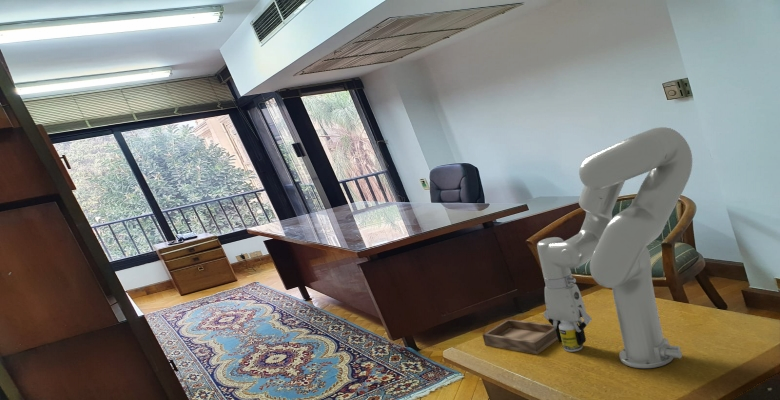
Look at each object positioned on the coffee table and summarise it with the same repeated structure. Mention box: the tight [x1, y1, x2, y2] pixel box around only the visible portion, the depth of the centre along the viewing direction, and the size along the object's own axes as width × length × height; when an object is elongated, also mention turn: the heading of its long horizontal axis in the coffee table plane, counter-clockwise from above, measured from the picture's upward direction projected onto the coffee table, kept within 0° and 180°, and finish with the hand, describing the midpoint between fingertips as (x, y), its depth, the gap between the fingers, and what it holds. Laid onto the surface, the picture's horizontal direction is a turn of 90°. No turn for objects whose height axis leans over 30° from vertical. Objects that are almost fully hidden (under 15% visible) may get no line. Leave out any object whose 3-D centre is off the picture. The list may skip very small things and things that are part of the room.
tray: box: [482, 318, 558, 355], centre depth 165 cm, size 20×13×4 cm, turn 40°
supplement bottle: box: [559, 320, 584, 353], centre depth 151 cm, size 5×5×10 cm
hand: (572, 341), depth 151 cm, fingers closed on supplement bottle, 5 cm apart
